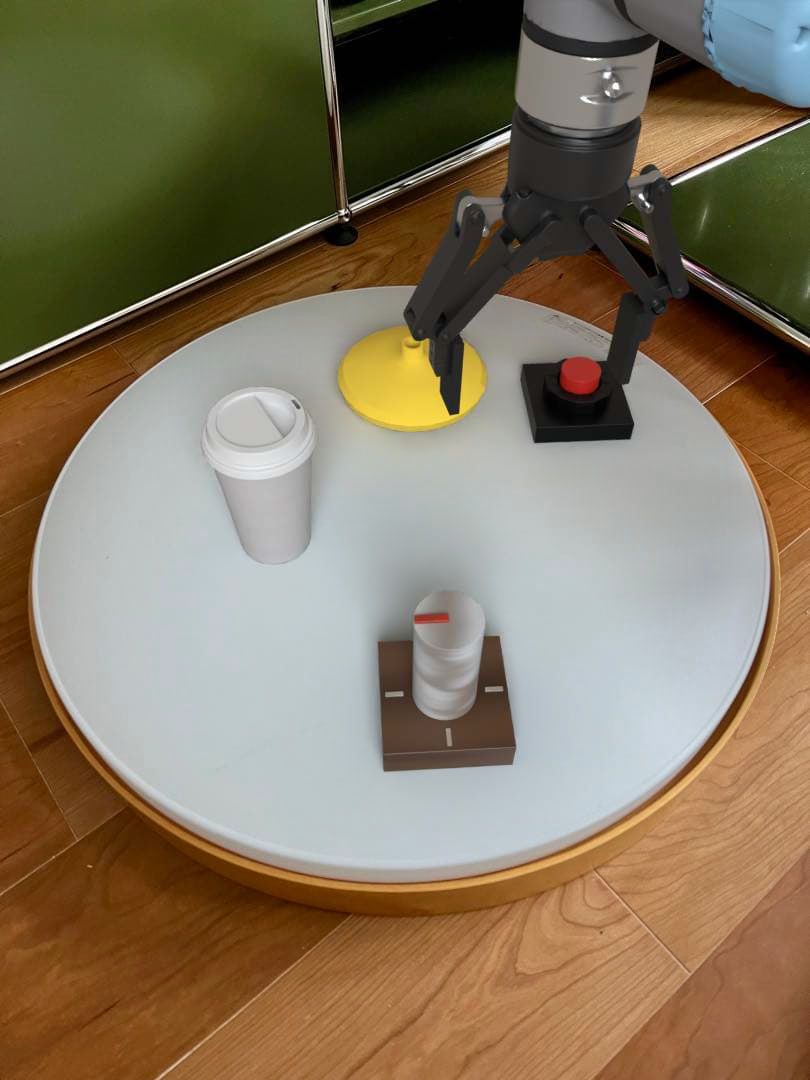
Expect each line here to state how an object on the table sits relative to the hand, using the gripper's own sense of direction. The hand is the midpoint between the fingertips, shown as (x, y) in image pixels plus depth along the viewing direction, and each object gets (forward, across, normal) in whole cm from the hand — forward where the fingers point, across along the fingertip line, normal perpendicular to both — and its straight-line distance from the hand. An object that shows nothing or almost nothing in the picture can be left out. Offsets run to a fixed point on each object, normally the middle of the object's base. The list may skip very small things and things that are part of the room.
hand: (534, 388), depth 68 cm
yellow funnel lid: (+20, -3, +22) cm, 30 cm away
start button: (+16, +13, +16) cm, 26 cm away
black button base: (+19, +13, +16) cm, 28 cm away
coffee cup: (+19, -21, +6) cm, 29 cm away
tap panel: (+19, -11, -15) cm, 27 cm away
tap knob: (+16, -11, -15) cm, 24 cm away
